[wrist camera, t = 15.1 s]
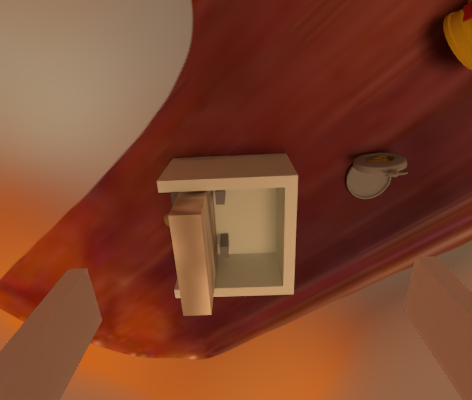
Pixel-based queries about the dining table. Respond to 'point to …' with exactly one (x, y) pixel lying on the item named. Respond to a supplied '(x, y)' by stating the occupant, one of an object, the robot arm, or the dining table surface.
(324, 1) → the dining table surface
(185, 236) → the door
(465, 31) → the ornament
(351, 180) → the pocket watch
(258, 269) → the cabinet
